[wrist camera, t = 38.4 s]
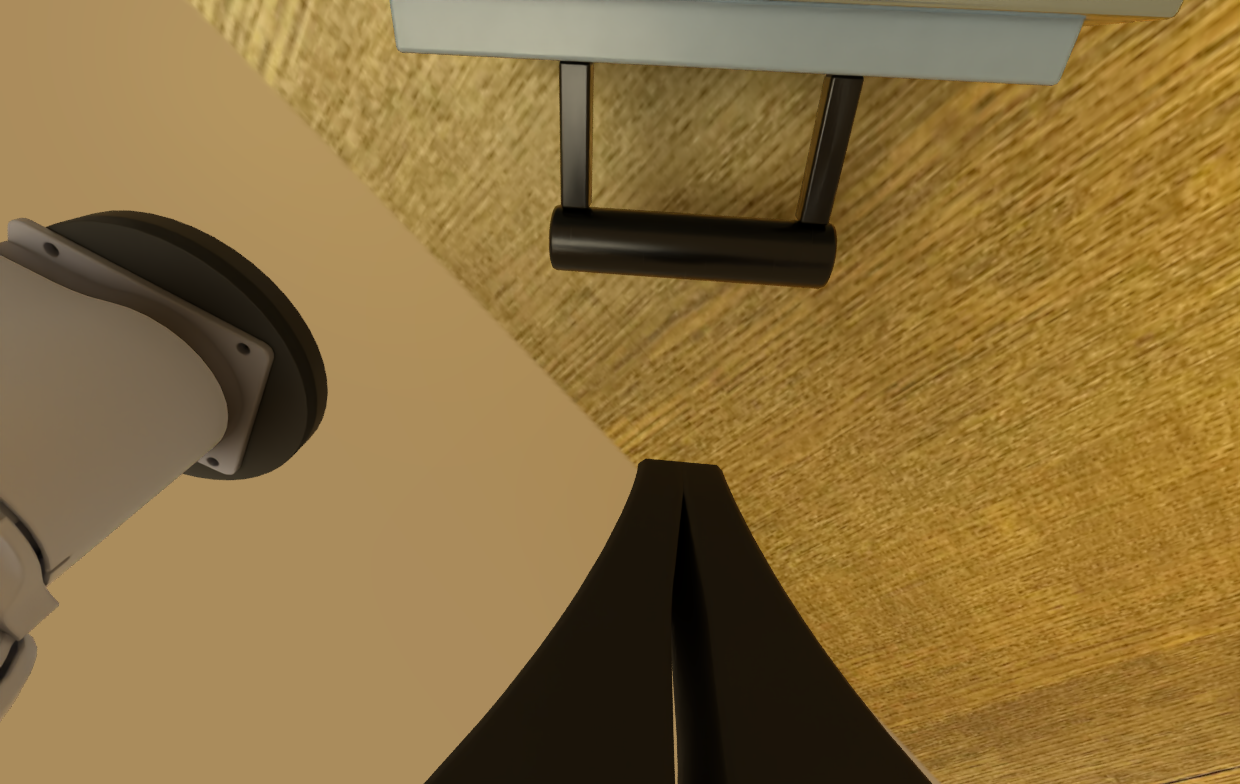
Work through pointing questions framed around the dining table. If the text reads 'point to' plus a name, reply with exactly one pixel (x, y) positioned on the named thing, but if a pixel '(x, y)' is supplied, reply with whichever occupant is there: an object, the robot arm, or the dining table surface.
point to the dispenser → (1007, 7)
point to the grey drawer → (741, 40)
